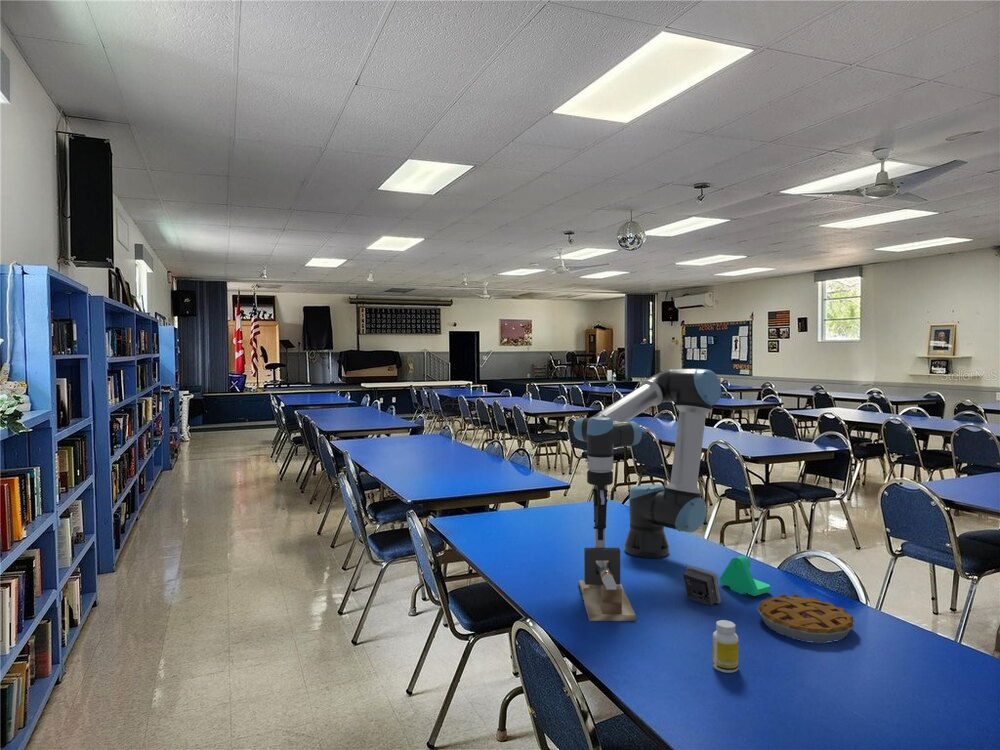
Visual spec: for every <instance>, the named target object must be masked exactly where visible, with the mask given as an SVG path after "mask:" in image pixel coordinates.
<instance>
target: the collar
mask: <svg viewBox="0 0 1000 750" xmlns="http://www.w3.org/2000/svg"><path fill="white" fill-rule="evenodd" d="M583 549H584V552H583V553H584V555H583V556H584V557H583V558H584V559H583V560H584V566H583V568H584V569H583V571H584V572H583V574H584V579H583V580H584V582H585V585H604V584H603V582H602V580H601V576H600V573H599V572H596V561H609V570H610V572H611V574H612V575H613V577H614V581H615V583H616V585H620V583H621V549H620V547H605V548H595V547H584V548H583Z"/></svg>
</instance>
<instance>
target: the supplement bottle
mask: <svg viewBox="0 0 1000 750" xmlns="http://www.w3.org/2000/svg"><path fill="white" fill-rule="evenodd" d="M715 623H716V624H715V628H716V629H715V631H713V633H712V666H713V668H714V669H716V671H719V672H722V673H726V674H727V673H728V674H730V673H735V672H738V670H739V657H740V656H739V650H740V649H739V645H740V644H739V642H740V641H739V636H738V634H737V633H736V624H735V623H734V622H733V621H730V620H726V619H721V620H717V621H716V622H715Z"/></svg>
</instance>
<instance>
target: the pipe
mask: <svg viewBox="0 0 1000 750" xmlns="http://www.w3.org/2000/svg"><path fill="white" fill-rule="evenodd" d="M596 566H597V568H598V571H599V573H600V576H601V580H602V582H603V584H604V585H605V587H606V591H607V590H615V591H616V590H618V587H617V585H616V583H615V581H614V577H613V575H612V574H611V572H610V570H609V567H608V565H607V563H606V561H596ZM617 592H618V591H617ZM611 593H612V592H611ZM615 594H616V593H615ZM609 595H610V594H609ZM612 595H613V594H612Z"/></svg>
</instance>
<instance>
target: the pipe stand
mask: <svg viewBox="0 0 1000 750" xmlns="http://www.w3.org/2000/svg"><path fill="white" fill-rule="evenodd" d="M606 563H607V565H608V567H609V561H606ZM596 572H599V571H598V568H597V566H596ZM579 586H580V587H579ZM578 587H579V590H580V593H582V594H581V597H582V600H584V601H583V603H584V604H583V605H584V607H585V611H586V614H587V617H588V621H590V622H591V621H593V622H596V621H597V622H608V621H609V622H610V621H612V622H613V621H614V622H633V621H634V622H635V621H637V615H636V613H635V610H634V608H633V606H632V604H631V602H630V600H629V598H628V596H627V594H626V592H625V589H624V588H623V585H622V583H621V582H620V585H617V587H618V590H616V591H615V590H607V591H606V587H605V585H585V582H584V579H581V580H580V579H579V580H578ZM617 591H618V592H617ZM611 592H612V593H611ZM615 593H616V594H615ZM609 594H610V595H609ZM612 594H613V595H612Z"/></svg>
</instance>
